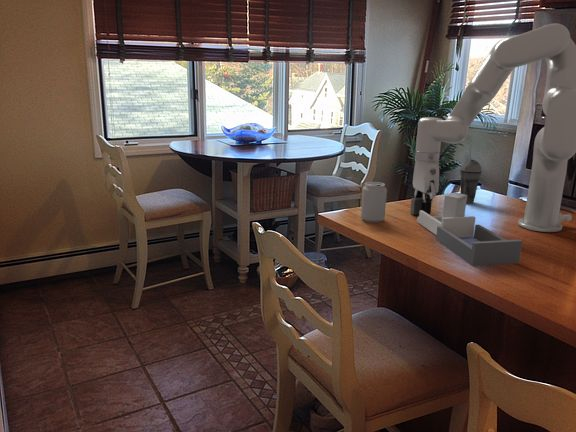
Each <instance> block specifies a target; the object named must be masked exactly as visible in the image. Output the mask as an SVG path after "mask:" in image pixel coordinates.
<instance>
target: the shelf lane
mask: <svg viewBox="0 0 576 432" xmlns="http://www.w3.org/2000/svg"><path fill="white" fill-rule="evenodd" d="M473 239H475V240H477V241H472V245H471V244H469V243H468V242H466V241H464V240H463V239H462V238H458V237H457V236H455V235H454V234H452V233H451V232H449V231H448V230H446V229H445V228H443V227H441V226H438V227H437V235H435V241H437V242H438V241H439V242H438V243H440V244H441V243H442V244H441V245H443V246H444V247H445V246H446V247H445V248H446V249H448V250H450V251H451V252H452V253H453V254H455V255H457V256H458V257H459V258H460V259H462V260H464V261H465V262H466V263H468V264H469V265H471V266H472V267H478V266H491V265H492V266H495V265H508V264H509V265H510V264H519V263H520V259H521V252H522V247H523V240H522V239H520V238H519V239H506V238H504V237H502V236H500V235H498V234H497V233H495V232H494V231H492V230H489V229H488V228H486V227H485V226H483V225H482V224H475V225H474V233H473Z"/></svg>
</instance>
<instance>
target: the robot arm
mask: <svg viewBox="0 0 576 432" xmlns="http://www.w3.org/2000/svg"><path fill="white" fill-rule="evenodd" d="M541 60H545V62H546V81H545V85H544V86H545V87H544V93H543V99H542V105H541V109H542V112H543V113H544V115H545V119H544V126H543V127H542V128H541V129H540V130H539V131H538V132H537V134H536V136H535V138H534V143H533V154H532V163H531V164H532V165H531V171H530V177H529V178H530V179H529V185H528V190H527V197H526V202H525V209H524V217H521V218H519V219H518V221H517V224H518V225H519V226H520V227H522V228H525V229H527V230H530V231H535V232H542V233H556V232H560V231H562V229H563V224H562V222H563V221H566V222H567V221H568V222H571V221H572V218H573V217H572V214H562V213H560V209H561V204H562V199H563V193H564V192H563V191H564V187H565V181H566V177H567V176H566V175H567V169H568V161H569V160H570V159H571V158H572V157H573V156H574V155H575V154H576V44H575V42H574V41H573V39H572V38H571V33H570V31H569V29H568V28H567V26H565V25H563V24H561V23H557V22H556V23H549V24H545V25H543V26H541V27H538V28H536V29H535V28H534V29H532V30H529V31H527V32H523V33H520V34H516V35H514V36H511V37H507V38H504V39H500V40H499V41H497V42H496V43H495V44H494V45H493V46H492V48H491V50H490V51H489V52H488V54H487V55H486V57H485V59H484V60H483V62H482V64H481V65H480V66H479V67H478V69H477V70H476V73H475V74H474V75H473V77H472V78H471V80H470V81H469V83H468V85H467V86H466V88H465V89H464V92H463V93H462V95H461V96H460V98H459V99H458V101H457V103H456V104H454V107H453V109H452V110H451V112H450V113H449V115H448V116H447V118H446V119H442V118H439V117H430V116H427V117H421V118H420V119H419V120H418V122H417V123H418V124H417V133H416V134H417V135H416V142H415V143H416V144H415V145H416V146H415V154H414V161H415V162H414V168H413V175H412V187H413V191H414V195H413V196H414V197H413V198H423V202H422V205H421V210H423V211H424V212H426V213H427V214H429V215H431V212H432V203H433V200H434V198H435V197H436V196H437V194H438V192H439V187H440V186H439V185H440V154H441V146H442V142H443V143H447V144H453V145H454V144H456V145H457V144H460V143H463V142H464V141H465V140H466V139H467V137H468V135H469V128H470V126H471V125H472V123H473V122H474V120H475V119H476V117H478V115H479V114H480V112H481V111H482V110H483V108H484V107H486V106H487V105H488V104H489V103H490V102H492V101H493V99H494V98H495V97H496V96H497V94H498V93H499V91H500V89H501V88H502V86H503V85H504V83H505V82H506V81H507V79H508V77H509V76H510V75H511V73H512V72H513V71H514V69H515V68H519V67H522V66H526V65H529V64H530V65H531V64H532V63H533V64H534V63H535V62H539V61H541Z"/></svg>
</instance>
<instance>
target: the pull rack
mask: <svg viewBox="0 0 576 432" xmlns="http://www.w3.org/2000/svg"><path fill="white" fill-rule="evenodd" d="M422 202H423V198H416V197H411V201H410V214H411V215H413V216H417V219H416V220H417V221H416V223H418V224H419V225H421V226H422V227H424V228H425V229H427V230H428V231H430V232H431V233H433V234H434V235H435V236H436V235H437V227H438V226H441V227H443V228H445V229H446V230H448V231H449V232H451V233H452V234H454V235H455V236H457V237H458V238H460V239H463V238H474V232H475V225H476V216H473V215H472V216H470V215H469V216H464V217H446V218H442V216H443V215H431V214H427V213H426V212H424V211H423V210H421V205H422Z"/></svg>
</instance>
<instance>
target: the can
mask: <svg viewBox="0 0 576 432" xmlns="http://www.w3.org/2000/svg"><path fill="white" fill-rule="evenodd" d="M364 184H365V185H364V186H363V187H362V195H361V196H362V197H361V211H360V218H361V219H362V220H363V221H364V222H366V223H367V222H368V223H375V224H377V223H382V221H383V220H385V218H386V208H387V207H386V205H387V194H388V193H387V192H388V188H386V187H385V186H386V184H385V183H384V182H380V181H367V182H365V183H364Z"/></svg>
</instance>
